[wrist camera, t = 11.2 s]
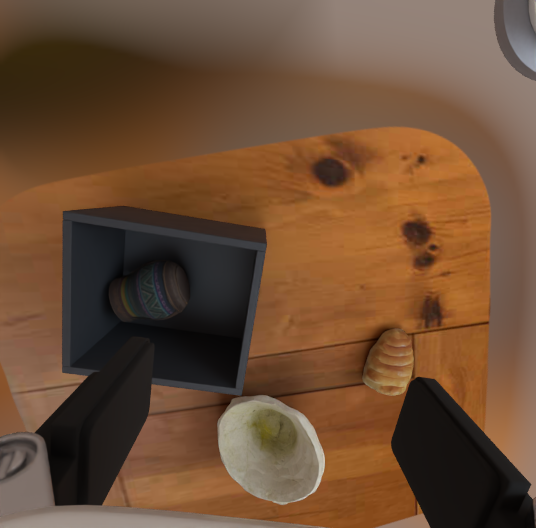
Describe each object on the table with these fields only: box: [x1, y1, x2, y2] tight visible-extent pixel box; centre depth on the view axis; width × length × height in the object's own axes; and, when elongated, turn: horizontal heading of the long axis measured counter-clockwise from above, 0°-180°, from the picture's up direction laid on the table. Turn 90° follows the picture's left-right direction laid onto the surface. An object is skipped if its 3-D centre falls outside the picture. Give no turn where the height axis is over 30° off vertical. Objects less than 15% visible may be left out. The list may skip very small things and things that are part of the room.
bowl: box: [217, 395, 325, 505], centre depth 41 cm, size 15×14×10 cm
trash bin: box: [62, 206, 267, 396], centre depth 34 cm, size 17×19×12 cm
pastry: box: [362, 328, 414, 396], centre depth 42 cm, size 9×7×4 cm
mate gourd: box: [109, 260, 190, 322], centre depth 36 cm, size 7×8×10 cm
